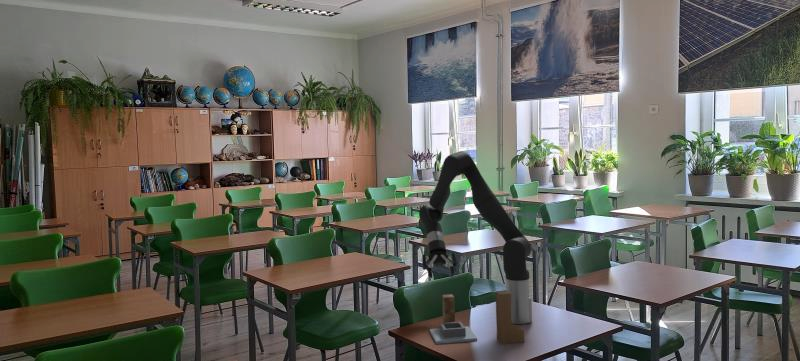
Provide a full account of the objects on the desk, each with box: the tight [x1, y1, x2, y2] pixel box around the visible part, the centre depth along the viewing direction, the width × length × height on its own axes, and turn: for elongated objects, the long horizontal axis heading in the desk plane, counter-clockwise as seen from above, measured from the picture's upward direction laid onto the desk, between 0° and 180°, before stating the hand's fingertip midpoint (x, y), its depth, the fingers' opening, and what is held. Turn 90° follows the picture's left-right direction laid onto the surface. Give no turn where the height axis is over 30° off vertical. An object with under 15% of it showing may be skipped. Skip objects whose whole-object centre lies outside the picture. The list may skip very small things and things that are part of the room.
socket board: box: [429, 321, 478, 345], centre depth 220 cm, size 15×14×4 cm
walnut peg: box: [441, 293, 456, 323], centre depth 231 cm, size 4×4×12 cm
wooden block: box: [495, 290, 525, 345], centre depth 211 cm, size 9×4×18 cm, turn 97°
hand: (441, 276), depth 243 cm, fingers open, 8 cm apart
